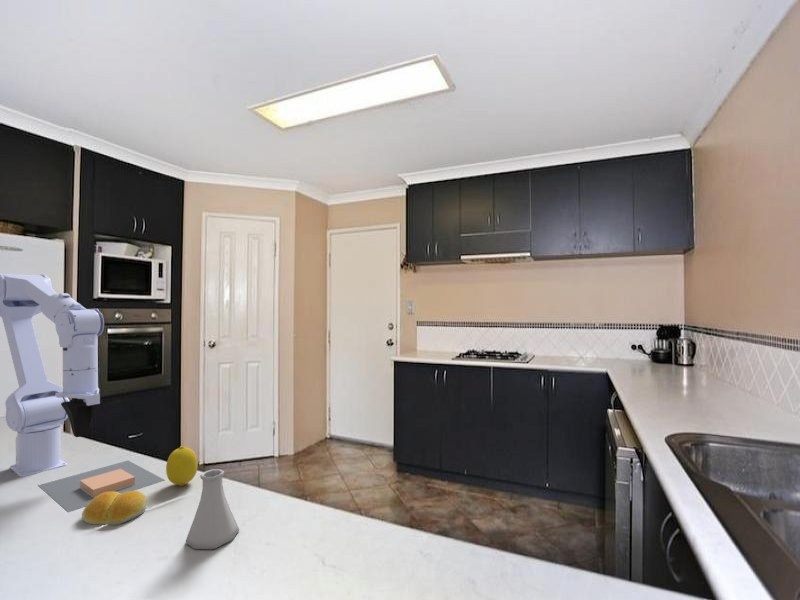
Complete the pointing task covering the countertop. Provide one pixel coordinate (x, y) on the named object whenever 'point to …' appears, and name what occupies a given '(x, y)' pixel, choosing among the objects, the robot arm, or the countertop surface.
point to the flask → (212, 515)
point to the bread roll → (114, 507)
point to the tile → (107, 482)
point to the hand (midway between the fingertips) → (81, 435)
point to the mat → (69, 487)
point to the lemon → (181, 466)
